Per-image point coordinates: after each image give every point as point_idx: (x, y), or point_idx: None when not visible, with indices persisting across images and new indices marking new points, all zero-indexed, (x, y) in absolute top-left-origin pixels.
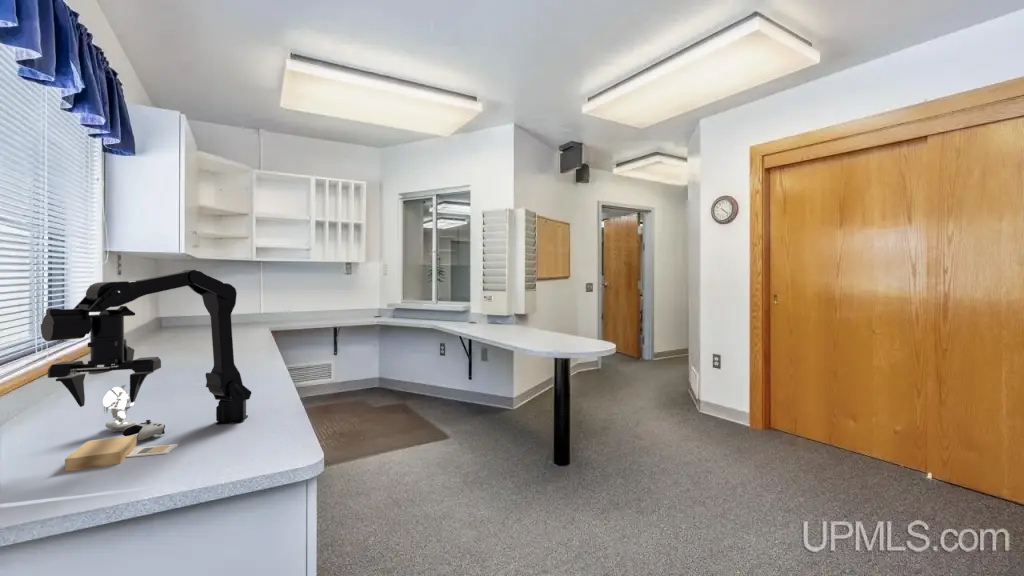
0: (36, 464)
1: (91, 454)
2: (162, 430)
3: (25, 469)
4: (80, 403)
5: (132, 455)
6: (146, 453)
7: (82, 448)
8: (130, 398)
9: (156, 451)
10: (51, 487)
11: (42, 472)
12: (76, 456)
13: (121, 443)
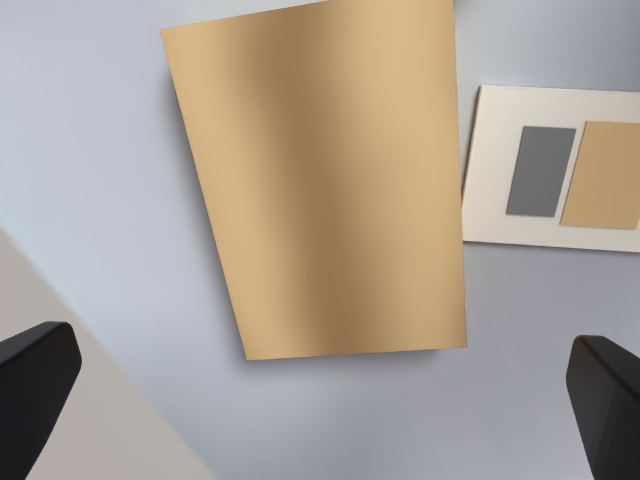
0: (59, 177)
1: (337, 338)
2: None
3: (65, 236)
4: (57, 405)
5: (487, 237)
6: (553, 231)
7: (229, 208)
8: (590, 450)
9: (604, 223)
10: (310, 465)
11: (172, 304)
12: (279, 341)
13: (419, 190)
